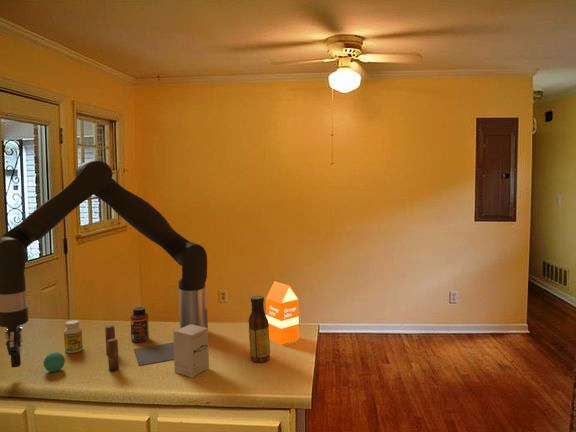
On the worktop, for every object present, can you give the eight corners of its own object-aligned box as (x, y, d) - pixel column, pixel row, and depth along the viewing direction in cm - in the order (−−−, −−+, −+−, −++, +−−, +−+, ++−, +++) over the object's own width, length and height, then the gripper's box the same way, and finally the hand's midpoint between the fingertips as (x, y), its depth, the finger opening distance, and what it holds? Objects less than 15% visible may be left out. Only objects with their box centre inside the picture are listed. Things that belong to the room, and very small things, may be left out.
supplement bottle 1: (81, 345, 155) (79, 318, 154) (84, 350, 151) (82, 322, 150) (63, 349, 152) (62, 321, 151) (66, 354, 148) (64, 325, 147)
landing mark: (176, 342, 157) (176, 341, 157) (185, 357, 145) (184, 357, 145) (133, 349, 152) (133, 348, 152) (138, 365, 139) (138, 365, 139)
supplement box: (192, 378, 131) (191, 335, 129) (173, 372, 135) (172, 330, 133) (210, 368, 137) (208, 327, 136) (191, 363, 141) (190, 323, 139)
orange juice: (281, 346, 154) (280, 287, 152) (265, 338, 161) (265, 282, 158) (299, 340, 159) (298, 283, 156) (283, 333, 165) (282, 279, 163)
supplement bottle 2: (132, 344, 156) (130, 311, 155) (130, 338, 162) (128, 307, 160) (150, 341, 159) (148, 309, 157) (147, 335, 164) (146, 304, 163)
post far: (115, 351, 150) (114, 324, 149) (116, 354, 148) (114, 327, 147) (106, 352, 149) (104, 326, 148) (106, 356, 146) (105, 328, 146)
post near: (118, 366, 138) (117, 338, 138) (119, 370, 136) (117, 341, 135) (108, 368, 137) (107, 339, 136) (109, 372, 135) (107, 342, 134)
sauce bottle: (273, 356, 145) (272, 295, 143) (265, 364, 139) (264, 300, 137) (254, 353, 147) (253, 293, 145) (246, 361, 142) (244, 298, 139)
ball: (65, 365, 140) (64, 347, 139) (65, 373, 135) (63, 354, 134) (44, 369, 137) (43, 351, 137) (43, 376, 132) (42, 358, 132)
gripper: (25, 312, 125) (28, 372, 127) (29, 299, 137) (33, 355, 139) (-8, 315, 122) (-3, 378, 124) (0, 302, 134) (4, 359, 136)
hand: (16, 365), depth 132 cm, fingers closed
